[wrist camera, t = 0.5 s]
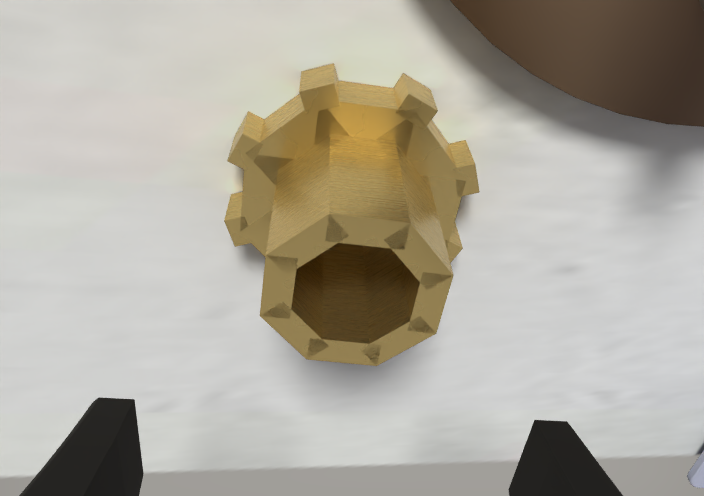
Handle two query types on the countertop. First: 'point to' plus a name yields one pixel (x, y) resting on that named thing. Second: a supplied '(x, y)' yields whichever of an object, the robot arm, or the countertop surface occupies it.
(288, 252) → the brass gear
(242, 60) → the countertop surface
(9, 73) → the countertop surface
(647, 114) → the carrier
